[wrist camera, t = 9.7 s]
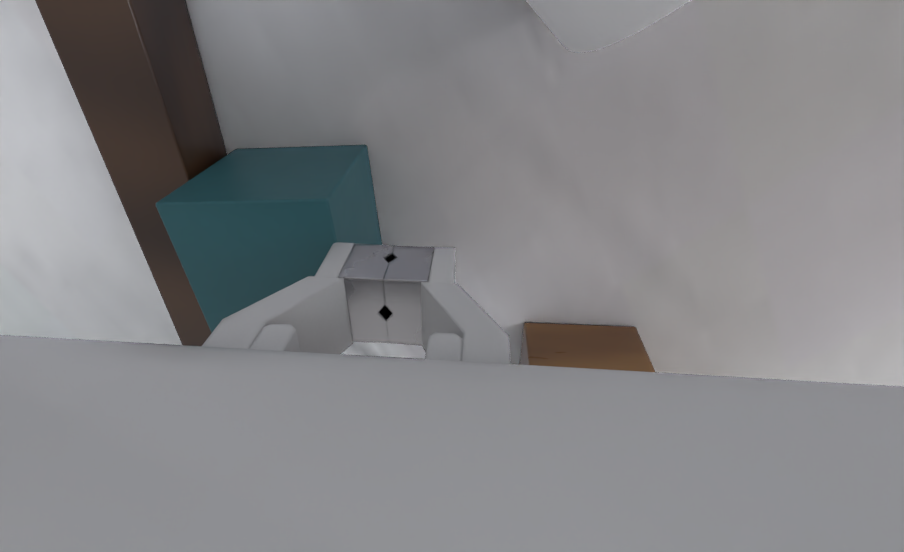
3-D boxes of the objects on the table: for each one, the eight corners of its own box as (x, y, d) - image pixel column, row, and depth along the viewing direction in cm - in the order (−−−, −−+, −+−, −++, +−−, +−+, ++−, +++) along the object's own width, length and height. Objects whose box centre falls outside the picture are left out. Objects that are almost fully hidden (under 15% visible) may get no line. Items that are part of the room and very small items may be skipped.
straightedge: (95, -26, 13) (21, -28, 11) (178, -26, 12) (120, -28, 10) (275, 481, 26) (258, 523, 24) (317, 483, 26) (303, 526, 24)
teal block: (235, 148, 15) (153, 202, 11) (367, 144, 15) (327, 199, 11) (270, 263, 18) (213, 339, 14) (384, 261, 17) (357, 339, 13)
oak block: (523, 321, 18) (534, 408, 15) (635, 326, 18) (676, 415, 14) (515, 397, 21) (522, 489, 17) (613, 402, 21) (643, 496, 17)
